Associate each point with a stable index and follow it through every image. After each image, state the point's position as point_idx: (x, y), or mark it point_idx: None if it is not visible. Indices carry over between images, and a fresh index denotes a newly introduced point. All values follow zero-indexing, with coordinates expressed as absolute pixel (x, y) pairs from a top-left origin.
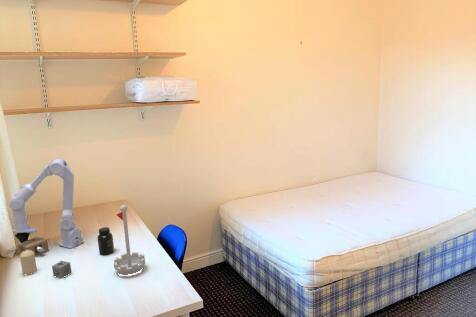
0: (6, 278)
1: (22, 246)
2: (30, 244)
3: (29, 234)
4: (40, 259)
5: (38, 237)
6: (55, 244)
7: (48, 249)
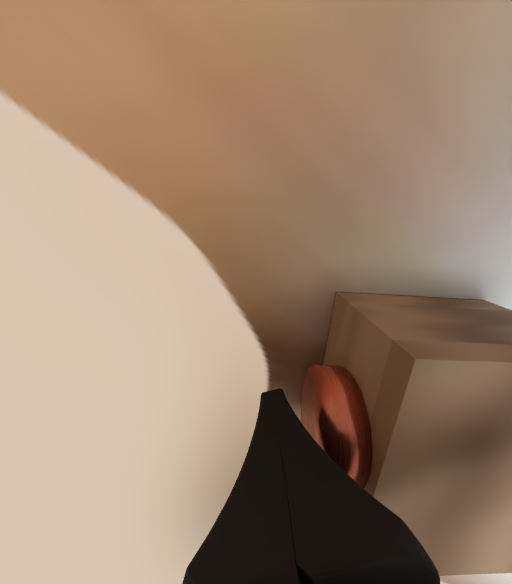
0: (455, 579)
1: (439, 572)
2: (507, 527)
3: (369, 497)
4: None
5: (471, 373)
6: (458, 167)
7: (496, 308)
